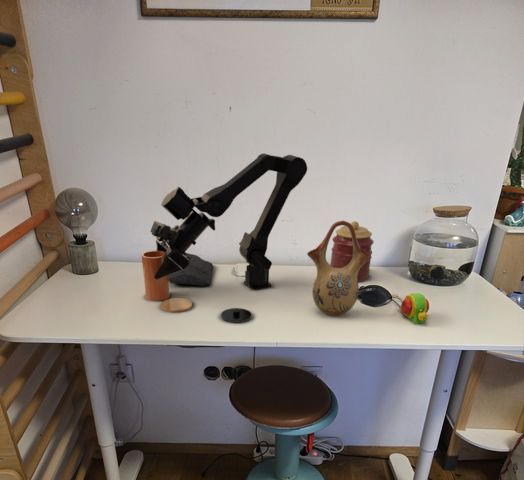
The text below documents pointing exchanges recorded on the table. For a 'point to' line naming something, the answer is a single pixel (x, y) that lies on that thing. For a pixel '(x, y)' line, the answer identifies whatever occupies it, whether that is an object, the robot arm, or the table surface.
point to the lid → (236, 315)
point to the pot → (151, 264)
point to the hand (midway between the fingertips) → (152, 272)
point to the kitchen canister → (351, 248)
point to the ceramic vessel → (337, 276)
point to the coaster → (176, 305)
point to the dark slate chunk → (193, 272)
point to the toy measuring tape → (413, 306)
